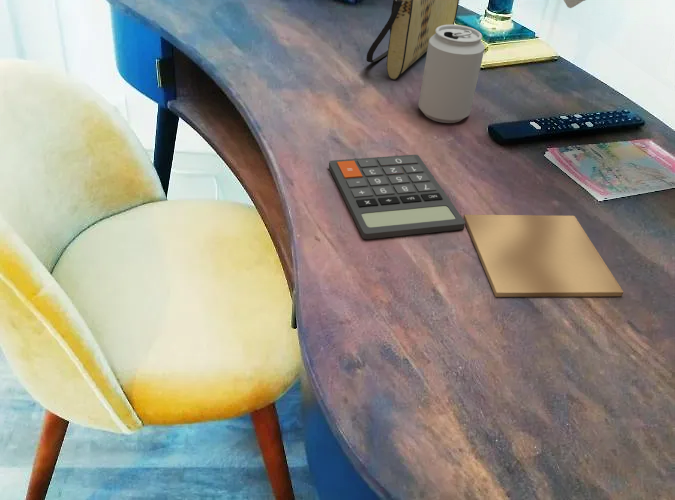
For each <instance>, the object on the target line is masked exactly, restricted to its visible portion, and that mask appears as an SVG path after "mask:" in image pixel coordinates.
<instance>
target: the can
mask: <svg viewBox="0 0 675 500" xmlns="http://www.w3.org/2000/svg"><path fill="white" fill-rule="evenodd" d="M435 31H436V34H434V35H433V36H432V37H431V38H430V39H429V44H428V50H427V51H426V56H425V62H424V68H423V74H422V79H421V87H420V93H419V98H418V108H419V109H420V111H421V112H422V114H424V116H425V117H426V118H428V119H429V120H432V121H433V122H439V123H444V124H455V123H458V122H461V121H463V120H464V119H466V118H467V117H469V116H470V115H471V111H472V108H473V103H474V99H475V95H476V90H477V86H478V80H479V76H480V72H481V71H480V70H481V67H482V63H483V57H484V54H485V49H486V48H485V44H484V43H483V41H482V39H483V34H482V33H481V32H480V31H479V30H477V29H475V28H473V27H470V26H466V25H463V24H454V25H442V26H439V27H437V29H436V30H435Z"/></svg>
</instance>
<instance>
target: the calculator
mask: <svg viewBox="0 0 675 500" xmlns="http://www.w3.org/2000/svg"><path fill="white" fill-rule="evenodd" d="M328 169H329V171H330V173H331V175H332V177H333V179H334V181H335V183H336V186H337V188H338V190H339V191H340V194H341V197H342V198H343V200H344V202H345V204H346V207H347V208H348V210H349V213H350V215H351V217H352V219H353V221H354V222H355V225H356V227H357V229H358V231H359V233H360V235H361V238H363V239H364V240H374V239H382V238H383V239H384V238H393V237H404V236H411V235H412V236H413V235H421V234H429V233H431V234H432V233H440V232H451V231H459V230H464V229H465V226H466V224H465V221H464V219H463V218H464V217H463V216H462V215H461V213H460V212H459V211H458V209H457V208H456V206H455V205H454V204H453V202H452V201H451V199H450V198H449V197H448V195H447V194H446V192H445V191H444V190H443V188H442V186H441V185H440V184H439V183H438V181H437V180H436V178H435V176H434V175H433V174H432V172H431V171H430V169H429V168H428V166H427V165H426V164H425V162H424V161H423V159H422V158H421V156H420V155H418V154H404V155H402V154H401V155H389V156H375V157H361V158H349V159H348V158H347V159H346V158H345V159H334V160H333V159H332V160H329V162H328Z"/></svg>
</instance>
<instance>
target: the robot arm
mask: <svg viewBox="0 0 675 500" xmlns="http://www.w3.org/2000/svg"><path fill="white" fill-rule="evenodd" d="M563 1H564V3H565V6H566V7H567V9H572V8H574V7H576V6H577V5H579V4H581V3H582V2H585V1H586V0H563Z"/></svg>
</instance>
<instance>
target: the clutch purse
mask: <svg viewBox="0 0 675 500" xmlns="http://www.w3.org/2000/svg"><path fill="white" fill-rule="evenodd" d="M459 4H460V0H392V4H391V13H390V16H389V18H388V20H387V22H386V24H385V25H384V26H383V28H382V30H381V31H380V33H379V34H378V35H377V37H376V38H375V39H374V41H373V42H372V44H371V45H370V47H369V49H368V51H367V53H366V62H367V63H376V62H378V61H380V60H382V59H384V58H385V57H386V72H387V75H388V77H389V78H390V79H391V80H397V79H399V78H400V76H401V75H402V74H403V73H404V72H405V71H406V70H407V69H408V68H410V67H411V66H412V65H413V64H414V63H415V62H417V61H418V60H419V59H420V58H421V57H422V56H423V55H424V54H425V53H427V50H428V44H429V39H430V38H431V37H432V36H433V35H434V34H436V31H435V30H436V29H437V27H439V26H442V25H455V23H456V19H457V15H458V9H459ZM388 32H389V40H388V47H387V50H386V51H385V52H383V53H381V54H380V55H378V56H377V57H376V58H374V59H373V56H374V54H375V52H376V50H377V48H378V47H379V45H380V44H381V42H383V40H384V38H385V37H386V35H387V34H388Z"/></svg>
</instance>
